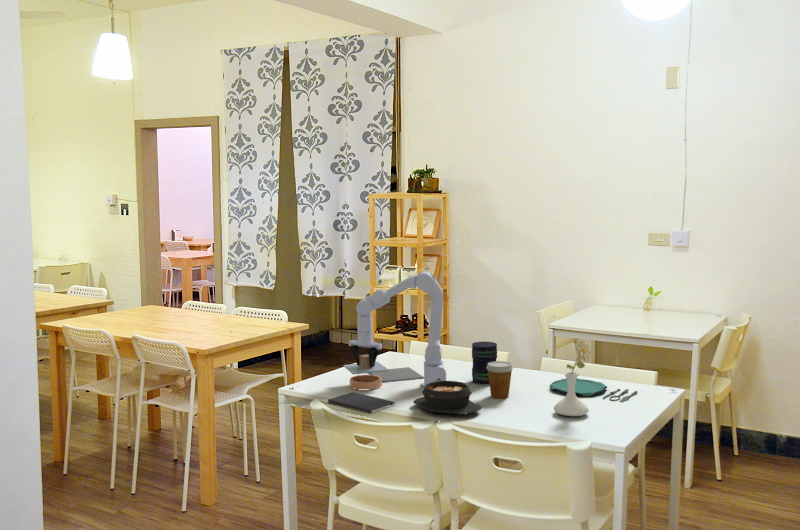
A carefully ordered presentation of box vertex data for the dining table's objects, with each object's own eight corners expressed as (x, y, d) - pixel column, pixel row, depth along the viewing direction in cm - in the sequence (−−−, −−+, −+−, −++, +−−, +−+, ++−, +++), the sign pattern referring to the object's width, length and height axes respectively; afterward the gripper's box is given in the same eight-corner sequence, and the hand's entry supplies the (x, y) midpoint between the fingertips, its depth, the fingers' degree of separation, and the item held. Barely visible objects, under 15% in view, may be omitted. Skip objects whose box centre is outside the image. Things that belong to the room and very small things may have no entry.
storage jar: (490, 377, 297) (490, 340, 296) (501, 383, 288) (501, 345, 286) (467, 379, 294) (467, 342, 292) (478, 386, 285) (477, 347, 283)
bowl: (385, 388, 283) (385, 380, 283) (355, 391, 279) (355, 383, 279) (376, 381, 294) (376, 373, 294) (346, 384, 290) (346, 376, 290)
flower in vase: (567, 421, 240) (567, 344, 237) (546, 411, 250) (547, 338, 248) (600, 415, 245) (600, 341, 243) (578, 406, 255) (579, 335, 253)
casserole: (401, 409, 256) (401, 385, 255) (435, 397, 270) (435, 375, 269) (459, 423, 239) (459, 398, 238) (492, 410, 253) (492, 386, 252)
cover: (388, 370, 282) (388, 357, 281) (353, 374, 277) (352, 361, 277) (377, 363, 295) (377, 350, 294) (343, 366, 290) (343, 353, 290)
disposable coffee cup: (497, 391, 276) (497, 359, 275) (518, 396, 270) (518, 363, 268) (481, 396, 270) (480, 364, 269) (502, 401, 263) (502, 368, 262)
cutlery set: (565, 380, 291) (565, 375, 291) (641, 394, 272) (641, 388, 272) (541, 392, 276) (541, 386, 275) (619, 407, 257) (619, 401, 257)
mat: (423, 378, 298) (423, 377, 297) (381, 382, 292) (380, 381, 292) (408, 368, 314) (408, 367, 314) (367, 372, 309) (367, 371, 309)
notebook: (328, 403, 266) (371, 414, 252) (328, 399, 265) (371, 410, 251) (353, 396, 275) (396, 406, 261) (353, 391, 275) (396, 402, 261)
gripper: (386, 330, 284) (387, 365, 285) (356, 327, 292) (356, 361, 293) (375, 334, 278) (376, 369, 279) (344, 330, 286) (345, 365, 287)
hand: (365, 365), depth 286 cm, fingers closed on cover, 6 cm apart
